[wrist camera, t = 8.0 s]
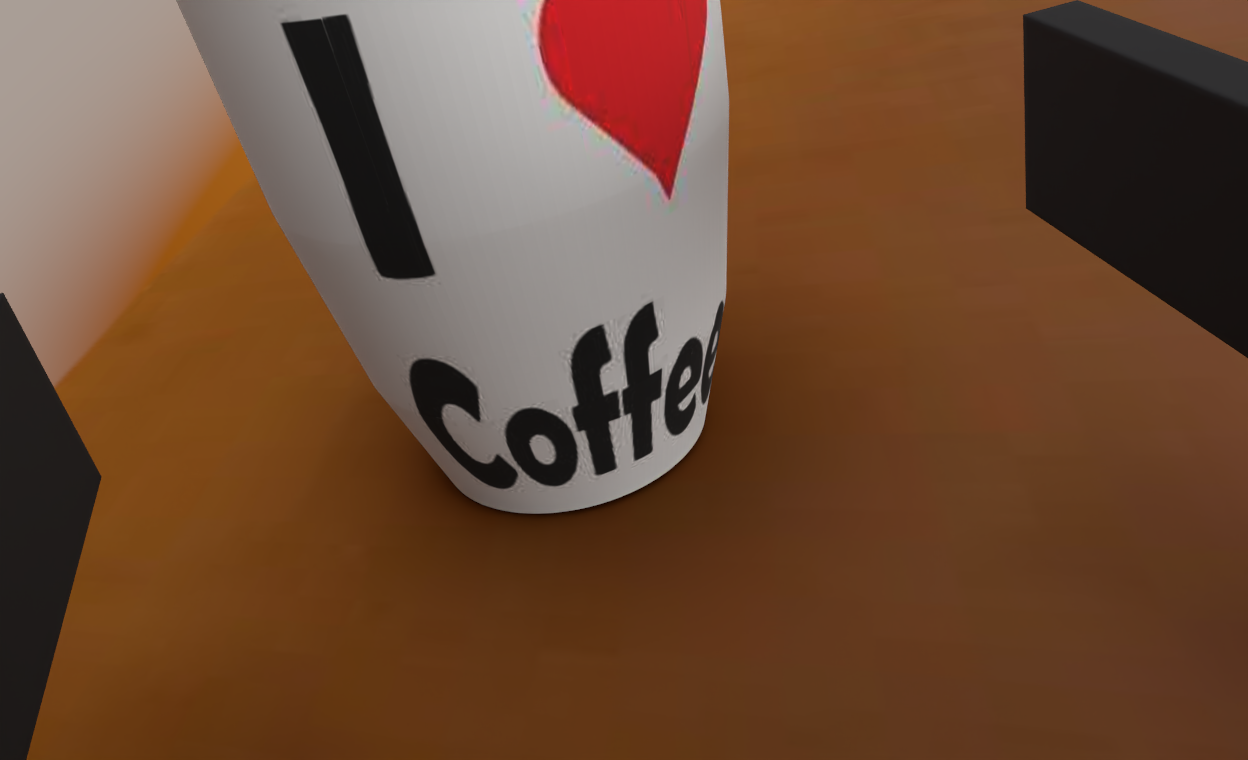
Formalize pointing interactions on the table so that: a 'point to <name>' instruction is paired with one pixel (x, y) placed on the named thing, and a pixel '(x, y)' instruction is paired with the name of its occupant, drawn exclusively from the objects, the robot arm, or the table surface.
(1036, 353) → the table surface
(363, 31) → the cup
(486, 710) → the table surface
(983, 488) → the table surface
